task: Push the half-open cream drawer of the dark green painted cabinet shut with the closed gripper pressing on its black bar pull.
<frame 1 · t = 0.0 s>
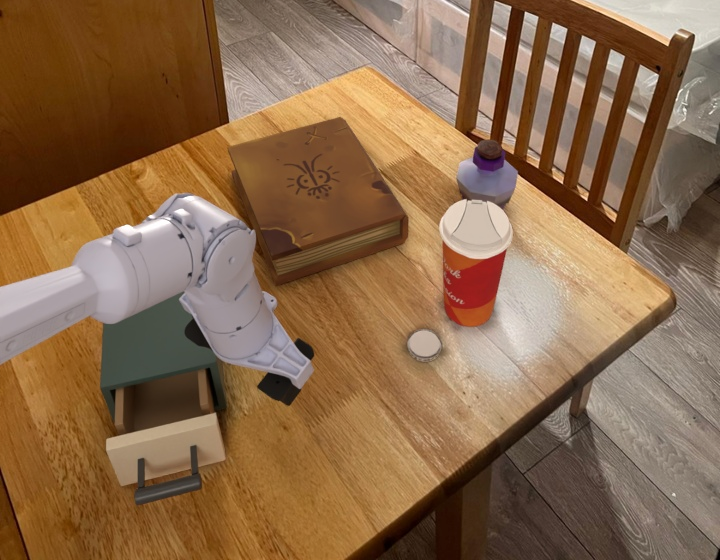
hand: (263, 374, 72), 10 cm above the table, tool pointing down, fingers open, 7 cm apart
white bottle cap: (424, 347, 86), on the table
coffee cup: (468, 308, 90), on the table
drawer: (167, 416, 75), point 4 cm above the table, slide at 5.0 cm
potion bottle: (483, 211, 104), on the table
diary: (315, 208, 105), on the table
cabinet: (171, 366, 84), on the table
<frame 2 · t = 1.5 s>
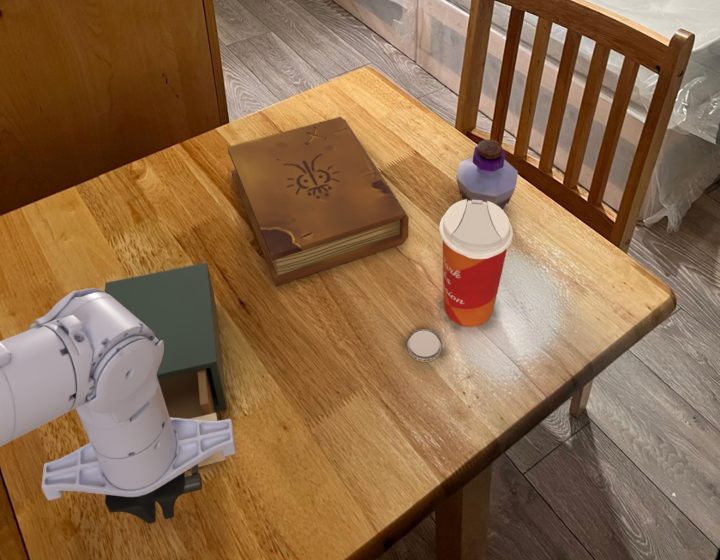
hand: (160, 508, 62), 9 cm above the table, tool pointing down, fingers closed
nothing on the table moved.
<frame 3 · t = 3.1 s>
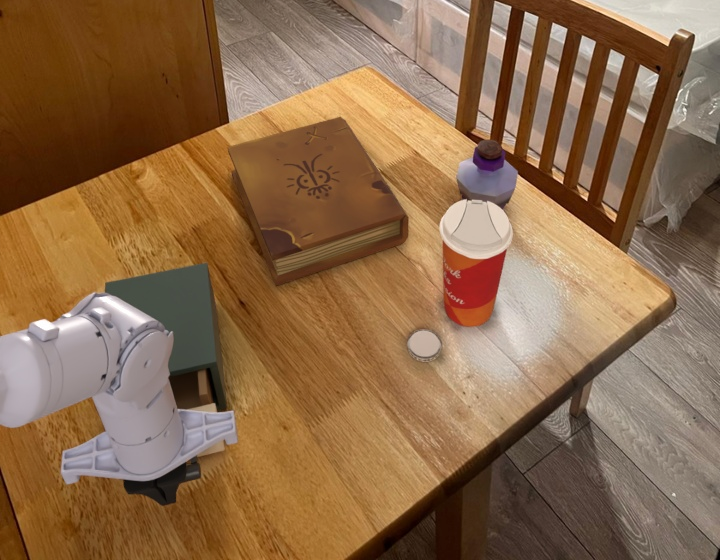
hand: (168, 493, 68), 5 cm above the table, tool pointing down, fingers closed, pressing on drawer
drawer: (166, 407, 76), point 4 cm above the table, slide at 3.9 cm, touching gripper
everything else where it was.
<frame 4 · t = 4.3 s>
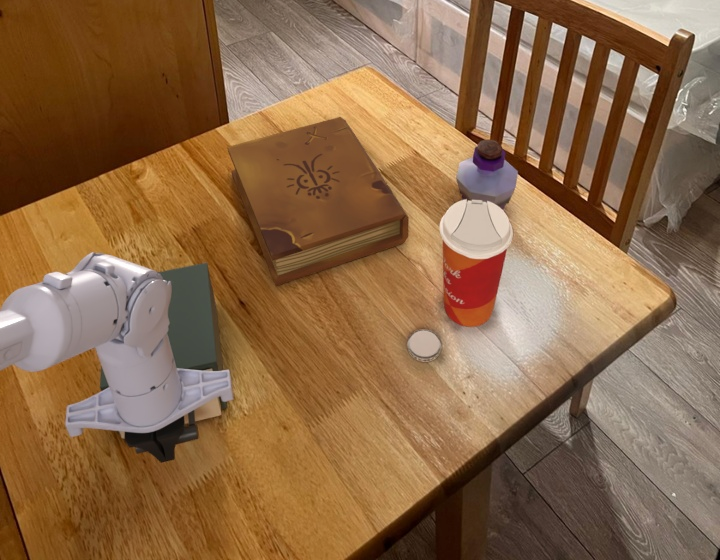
hand: (167, 451, 71), 5 cm above the table, tool pointing down, fingers closed, pressing on drawer
drawer: (165, 373, 79), point 4 cm above the table, slide at 0.0 cm, touching cabinet, gripper
everything else where it was.
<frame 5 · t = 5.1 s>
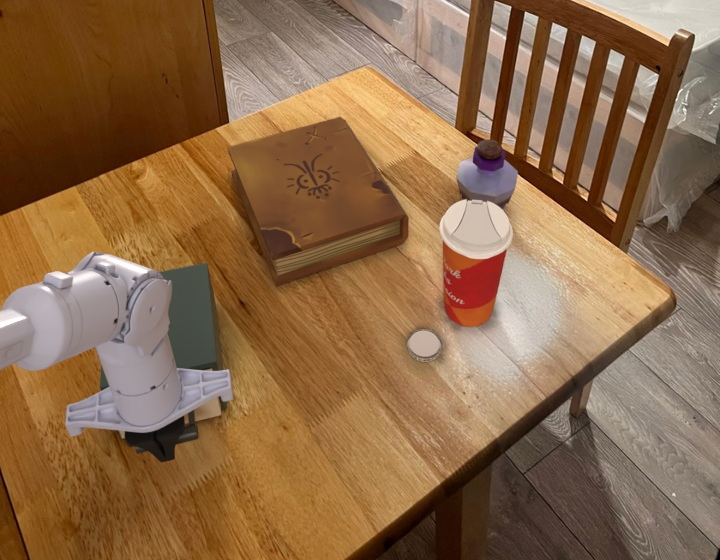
hand: (167, 451, 71), 5 cm above the table, tool pointing down, fingers closed, pressing on drawer
drawer: (165, 374, 79), point 4 cm above the table, slide at 0.0 cm, touching cabinet, gripper
everything else where it was.
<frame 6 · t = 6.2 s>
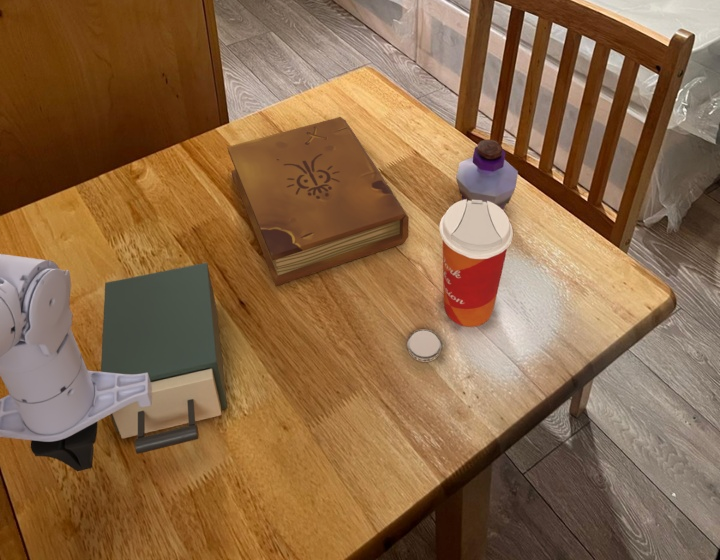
hand: (85, 459, 66), 9 cm above the table, tool pointing down, fingers closed
drawer: (165, 374, 79), point 4 cm above the table, slide at 0.0 cm, touching cabinet
everything else where it was.
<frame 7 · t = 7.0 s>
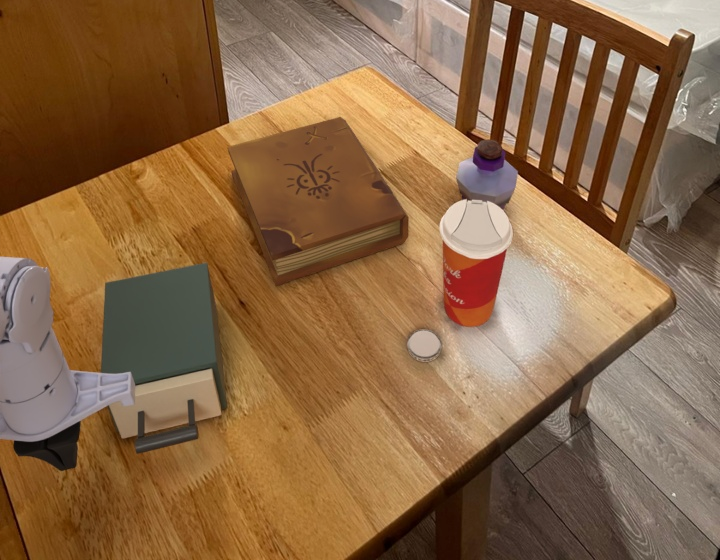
hand: (69, 458, 66), 9 cm above the table, tool pointing down, fingers closed
nothing on the table moved.
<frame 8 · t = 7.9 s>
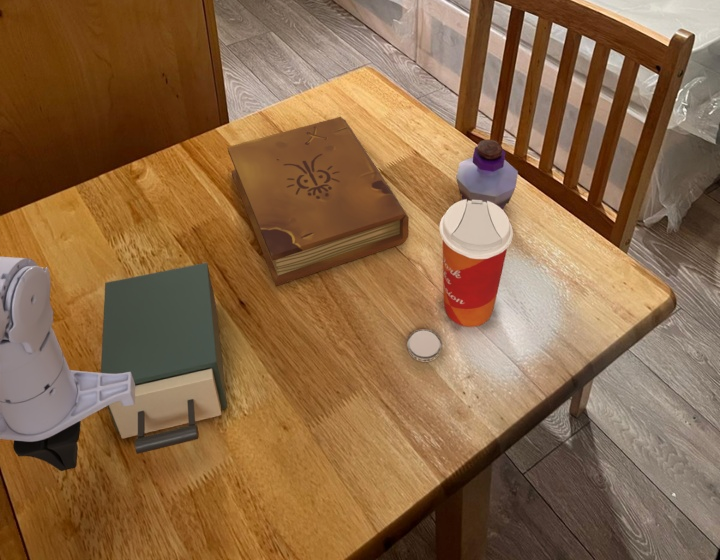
hand: (69, 458, 66), 9 cm above the table, tool pointing down, fingers closed
nothing on the table moved.
at the end: drawer slide at 0.0 cm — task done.
